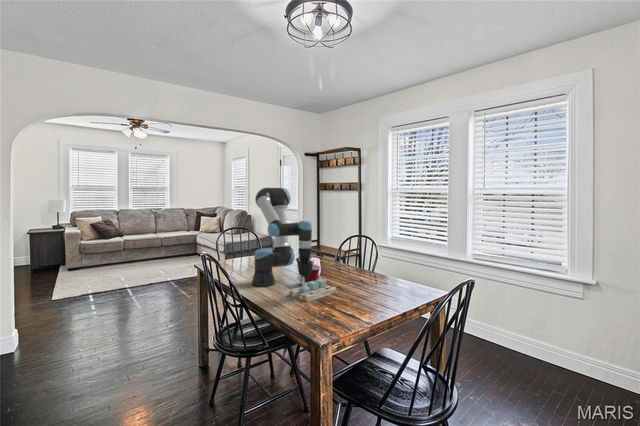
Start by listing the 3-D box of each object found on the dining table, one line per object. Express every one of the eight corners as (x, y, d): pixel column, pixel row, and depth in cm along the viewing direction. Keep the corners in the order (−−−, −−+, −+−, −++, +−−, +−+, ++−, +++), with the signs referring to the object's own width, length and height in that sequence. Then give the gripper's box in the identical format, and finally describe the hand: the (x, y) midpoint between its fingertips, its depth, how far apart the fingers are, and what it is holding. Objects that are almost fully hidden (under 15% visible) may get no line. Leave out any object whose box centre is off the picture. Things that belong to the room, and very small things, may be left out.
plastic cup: (314, 287, 206) (314, 268, 205) (300, 284, 212) (301, 266, 212) (323, 283, 215) (323, 265, 214) (310, 280, 221) (310, 263, 220)
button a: (298, 294, 187) (298, 287, 187) (304, 292, 191) (304, 286, 190) (304, 296, 184) (304, 289, 184) (310, 294, 187) (310, 287, 187)
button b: (307, 288, 192) (307, 282, 192) (312, 287, 196) (312, 280, 195) (313, 290, 189) (313, 284, 189) (318, 288, 192) (318, 282, 192)
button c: (315, 286, 197) (315, 280, 197) (320, 284, 201) (320, 278, 201) (321, 288, 194) (321, 281, 194) (326, 286, 198) (326, 280, 197)
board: (289, 295, 189) (289, 290, 189) (316, 286, 207) (316, 282, 206) (308, 301, 178) (308, 296, 178) (335, 292, 196) (335, 287, 196)
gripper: (292, 246, 187) (292, 286, 189) (308, 249, 178) (308, 291, 180) (301, 245, 193) (301, 283, 194) (317, 248, 184) (317, 288, 185)
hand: (304, 287), depth 187 cm, fingers closed
